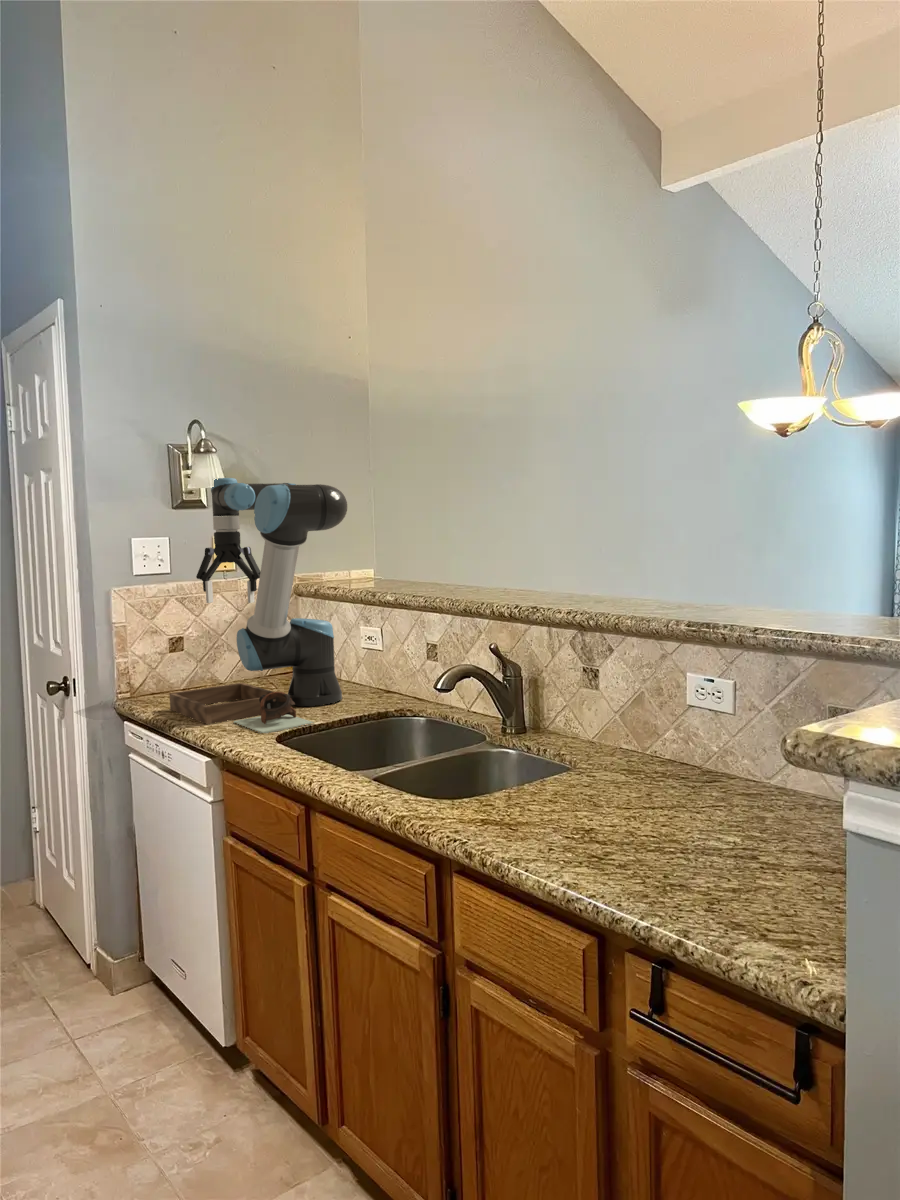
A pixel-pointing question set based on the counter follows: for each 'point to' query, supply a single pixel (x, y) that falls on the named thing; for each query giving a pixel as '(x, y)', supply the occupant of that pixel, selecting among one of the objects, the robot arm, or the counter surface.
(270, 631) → the robot arm
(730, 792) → the counter surface
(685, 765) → the counter surface
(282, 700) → the pottery mug
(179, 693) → the walnut crate
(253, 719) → the cutting board
